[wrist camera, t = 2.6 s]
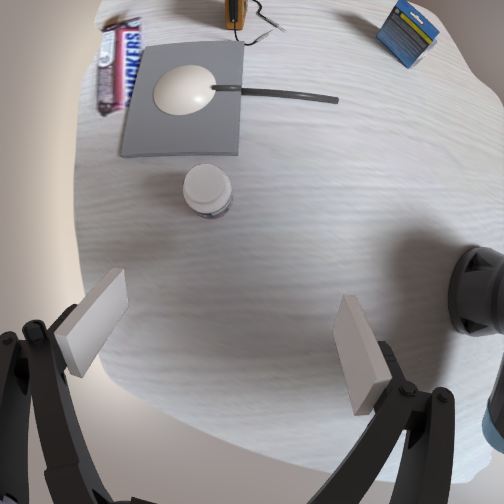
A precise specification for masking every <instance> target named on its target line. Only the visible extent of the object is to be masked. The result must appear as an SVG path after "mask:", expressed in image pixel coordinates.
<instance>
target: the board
mask: <svg viewBox="0 0 504 504" xmlns="http://www.w3.org/2000/svg"><path fill="white" fill-rule="evenodd" d="M243 58H244V41H200V42H184V43H173V44H163V45H155V46H148V47H145V50H144V54H143V57H142V60H141V64H140V67H139V71H138V74H137V78H136V82H135V86H134V90H133V94H132V98H131V103H130V107H129V112H128V116H127V121H126V126H125V132H124V137H123V143H122V149H121V156H122V157H123V158H130V157H148V156H175V155H231V156H238V142H239V123H240V106H241V95H261V96H276V97H288V98H298V99H307V100H315V101H322V102H329V103H336V104H338V101H339V99H338V97H332V96H325V95H318V94H311V93H303V92H293V91H283V90H270V89H253V88H242V73H243Z"/></svg>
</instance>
